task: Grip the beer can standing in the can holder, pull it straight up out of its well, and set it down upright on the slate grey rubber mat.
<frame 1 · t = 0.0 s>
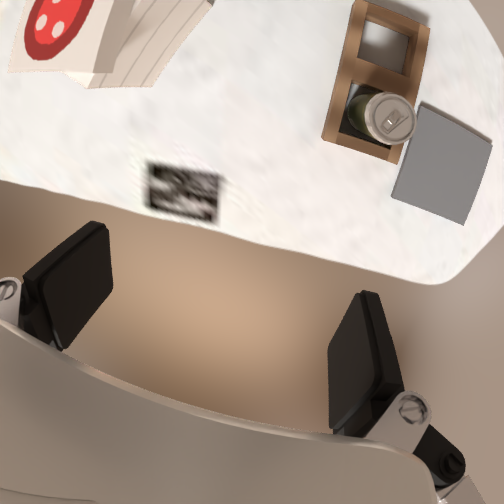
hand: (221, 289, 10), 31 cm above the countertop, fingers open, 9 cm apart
pizza boxes: (121, 16, 29), on the countertop
can holder: (374, 80, 30), on the countertop
beer can: (365, 113, 33), resting in can holder
rubber mat: (444, 168, 34), on the countertop
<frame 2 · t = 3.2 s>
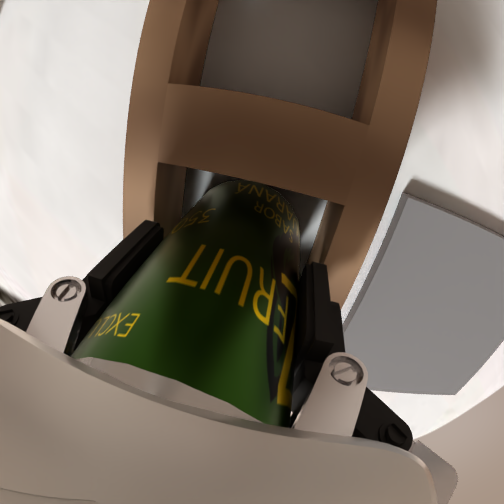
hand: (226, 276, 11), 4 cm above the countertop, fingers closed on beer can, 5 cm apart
can holder: (267, 129, 12), on the countertop
beer can: (247, 225, 15), resting in can holder, touching gripper
rubber mat: (442, 322, 16), on the countertop
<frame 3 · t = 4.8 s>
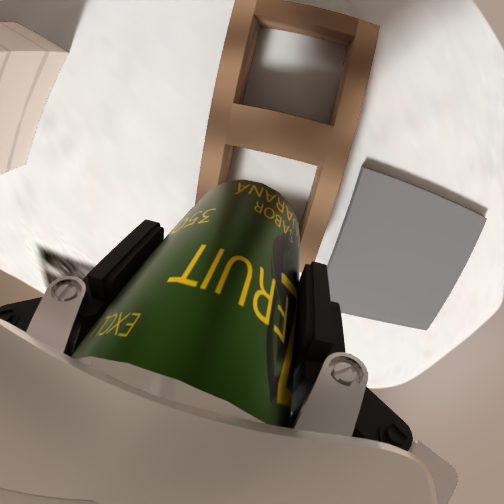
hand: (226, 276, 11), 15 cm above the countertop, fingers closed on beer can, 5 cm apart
pizza boxes: (0, 76, 21), on the countertop
can holder: (281, 130, 22), on the countertop
beer can: (247, 225, 15), point 10 cm above the countertop, touching gripper
rubber mat: (403, 259, 25), on the countertop
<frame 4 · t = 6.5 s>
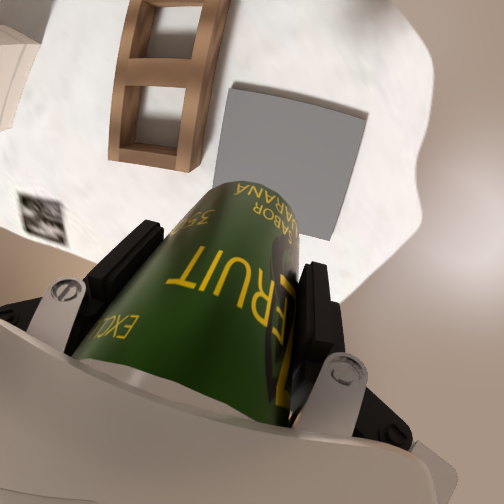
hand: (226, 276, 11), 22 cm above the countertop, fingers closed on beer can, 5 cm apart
can holder: (170, 73, 26), on the countertop
beer can: (246, 226, 15), point 17 cm above the countertop, touching gripper
rubber mat: (283, 164, 30), on the countertop
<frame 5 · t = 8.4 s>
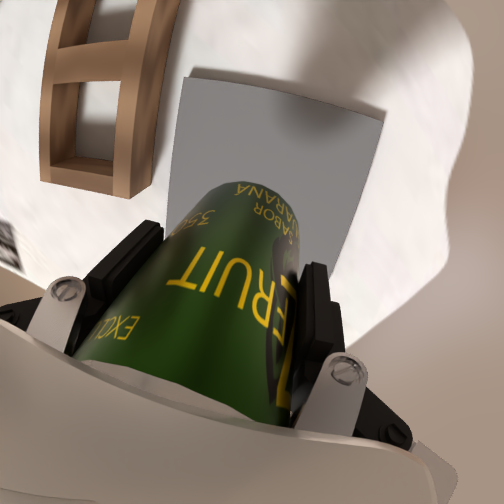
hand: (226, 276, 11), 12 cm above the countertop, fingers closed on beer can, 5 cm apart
can holder: (112, 63, 17), on the countertop
beer can: (247, 226, 15), point 7 cm above the countertop, touching gripper
rubber mat: (263, 184, 21), on the countertop
when the fingers open (6 cm above the countertop, at t = 9.9 s): beer can stays where it is, resting on rubber mat.
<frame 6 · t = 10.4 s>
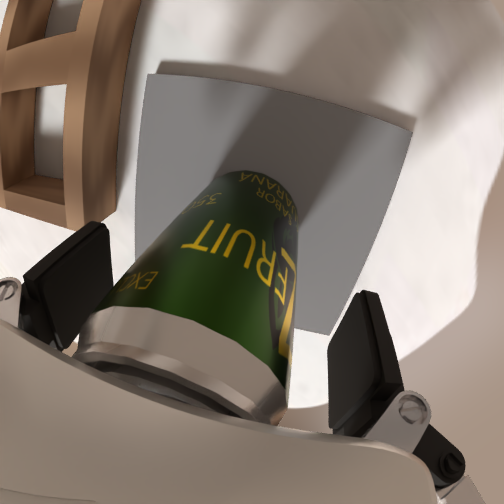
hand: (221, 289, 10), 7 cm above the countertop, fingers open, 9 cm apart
can holder: (69, 63, 13), on the countertop
beer can: (249, 214, 16), point 1 cm above the countertop, touching rubber mat
rubber mat: (252, 212, 16), on the countertop
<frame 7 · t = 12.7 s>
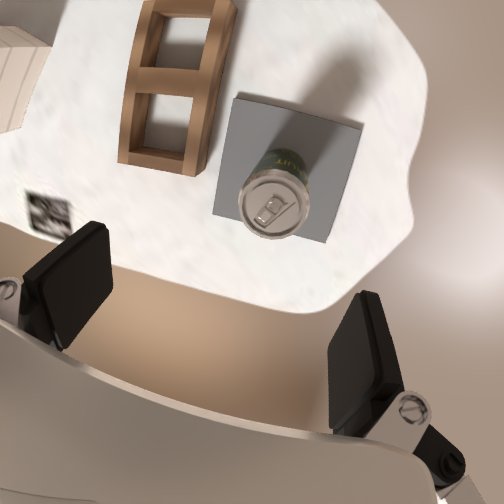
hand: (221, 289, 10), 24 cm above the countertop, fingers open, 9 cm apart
pizza boxes: (4, 65, 27), on the countertop
can holder: (178, 82, 28), on the countertop
beer can: (282, 170, 31), point 1 cm above the countertop, touching rubber mat
rubber mat: (283, 171, 32), on the countertop
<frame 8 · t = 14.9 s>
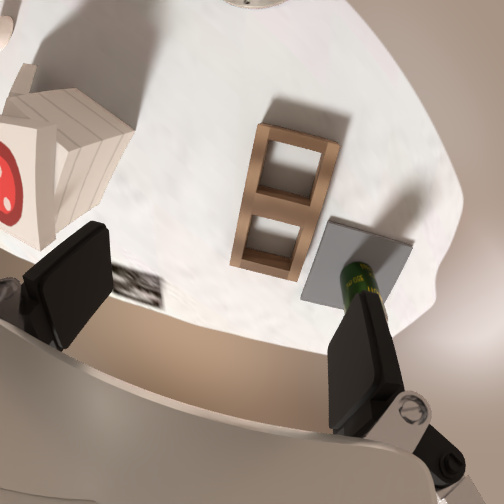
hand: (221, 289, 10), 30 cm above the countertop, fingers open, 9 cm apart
pizza boxes: (66, 131, 39), on the countertop
alcohol: (5, 34, 28), on the countertop
can holder: (281, 201, 40), on the countertop
beer can: (355, 273, 43), point 1 cm above the countertop, touching rubber mat
rubber mat: (355, 272, 43), on the countertop
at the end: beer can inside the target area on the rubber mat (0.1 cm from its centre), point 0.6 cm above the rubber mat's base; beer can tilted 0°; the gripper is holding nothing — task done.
